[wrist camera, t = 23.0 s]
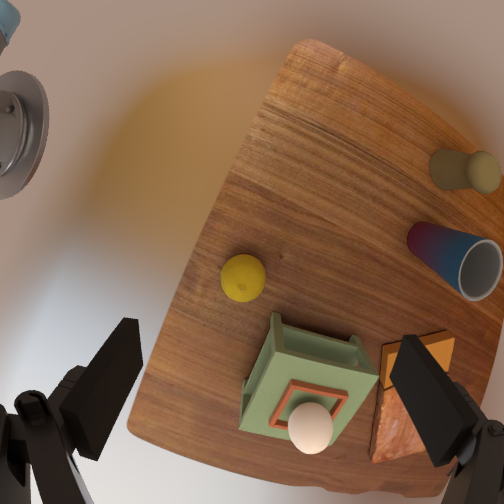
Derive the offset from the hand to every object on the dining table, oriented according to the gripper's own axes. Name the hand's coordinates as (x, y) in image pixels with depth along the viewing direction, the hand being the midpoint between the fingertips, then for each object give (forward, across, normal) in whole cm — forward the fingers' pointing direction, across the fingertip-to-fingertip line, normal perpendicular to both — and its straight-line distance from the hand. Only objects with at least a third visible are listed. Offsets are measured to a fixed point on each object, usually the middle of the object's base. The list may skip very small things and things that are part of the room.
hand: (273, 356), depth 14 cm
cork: (+28, +26, +11) cm, 40 cm away
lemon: (+28, -2, -6) cm, 29 cm away
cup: (+28, +23, +1) cm, 36 cm away
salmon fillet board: (+27, +30, -30) cm, 50 cm away
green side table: (+27, +8, -20) cm, 35 cm away
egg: (+17, +7, -20) cm, 27 cm away
